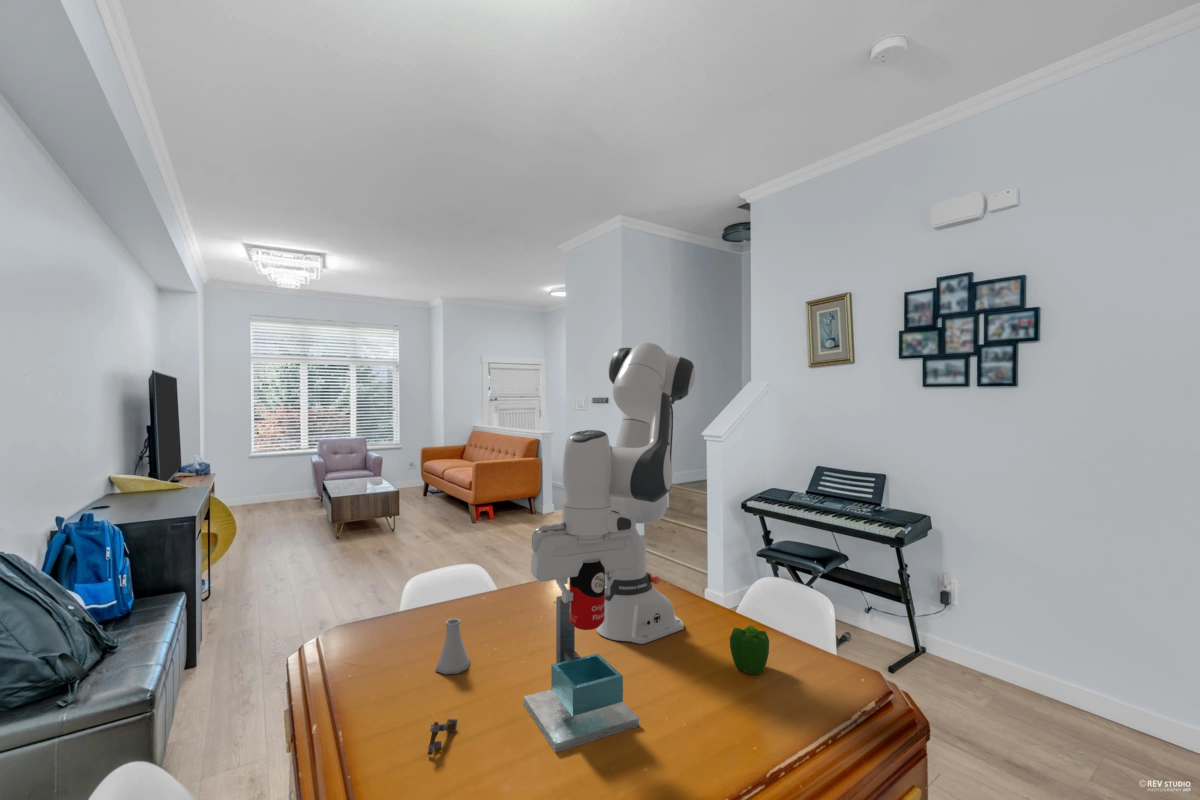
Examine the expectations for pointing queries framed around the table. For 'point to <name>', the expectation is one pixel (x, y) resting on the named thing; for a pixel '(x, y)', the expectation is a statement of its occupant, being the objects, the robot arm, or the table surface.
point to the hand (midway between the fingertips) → (586, 598)
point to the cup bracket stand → (579, 694)
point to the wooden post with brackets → (436, 728)
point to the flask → (453, 651)
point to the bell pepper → (749, 649)
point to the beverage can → (588, 596)
